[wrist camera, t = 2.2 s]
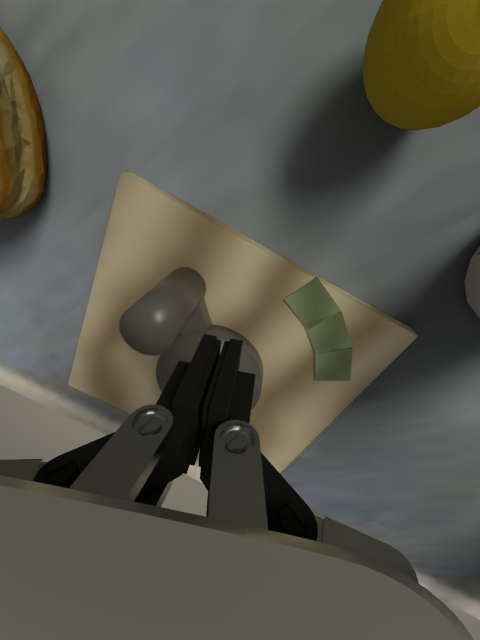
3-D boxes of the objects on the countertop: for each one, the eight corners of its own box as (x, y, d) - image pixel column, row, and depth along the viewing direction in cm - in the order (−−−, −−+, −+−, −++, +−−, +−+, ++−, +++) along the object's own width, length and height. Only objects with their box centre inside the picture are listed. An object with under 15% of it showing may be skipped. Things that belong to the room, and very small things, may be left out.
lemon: (363, 157, 16) (420, 146, 9) (334, 42, 14) (379, -84, 7) (475, 104, 15) (649, 41, 8) (460, -36, 13) (679, -300, 6)
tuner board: (413, 325, 20) (420, 335, 19) (272, 470, 30) (271, 482, 29) (131, 168, 18) (120, 168, 17) (76, 377, 28) (66, 386, 27)
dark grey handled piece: (284, 456, 26) (283, 534, 21) (203, 458, 28) (181, 530, 22) (237, 256, 18) (214, 293, 13) (128, 277, 20) (66, 318, 15)
